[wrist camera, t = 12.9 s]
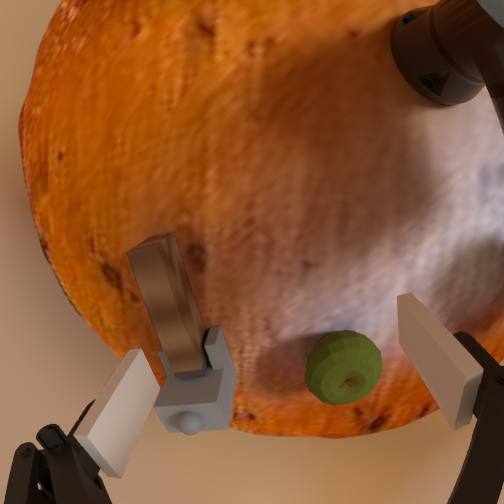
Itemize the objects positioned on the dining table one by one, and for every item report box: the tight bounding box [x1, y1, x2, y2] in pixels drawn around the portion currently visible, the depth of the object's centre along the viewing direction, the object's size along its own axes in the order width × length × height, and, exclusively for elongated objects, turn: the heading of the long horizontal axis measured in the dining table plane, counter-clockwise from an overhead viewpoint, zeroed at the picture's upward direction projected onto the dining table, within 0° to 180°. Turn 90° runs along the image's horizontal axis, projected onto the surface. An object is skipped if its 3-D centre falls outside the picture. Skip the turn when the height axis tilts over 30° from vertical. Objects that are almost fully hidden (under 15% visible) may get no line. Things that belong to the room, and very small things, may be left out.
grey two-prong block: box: [154, 326, 237, 435], centre depth 39 cm, size 9×8×14 cm
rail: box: [127, 232, 209, 378], centre depth 40 cm, size 18×4×7 cm, turn 14°
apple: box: [305, 330, 382, 405], centre depth 40 cm, size 11×10×10 cm
